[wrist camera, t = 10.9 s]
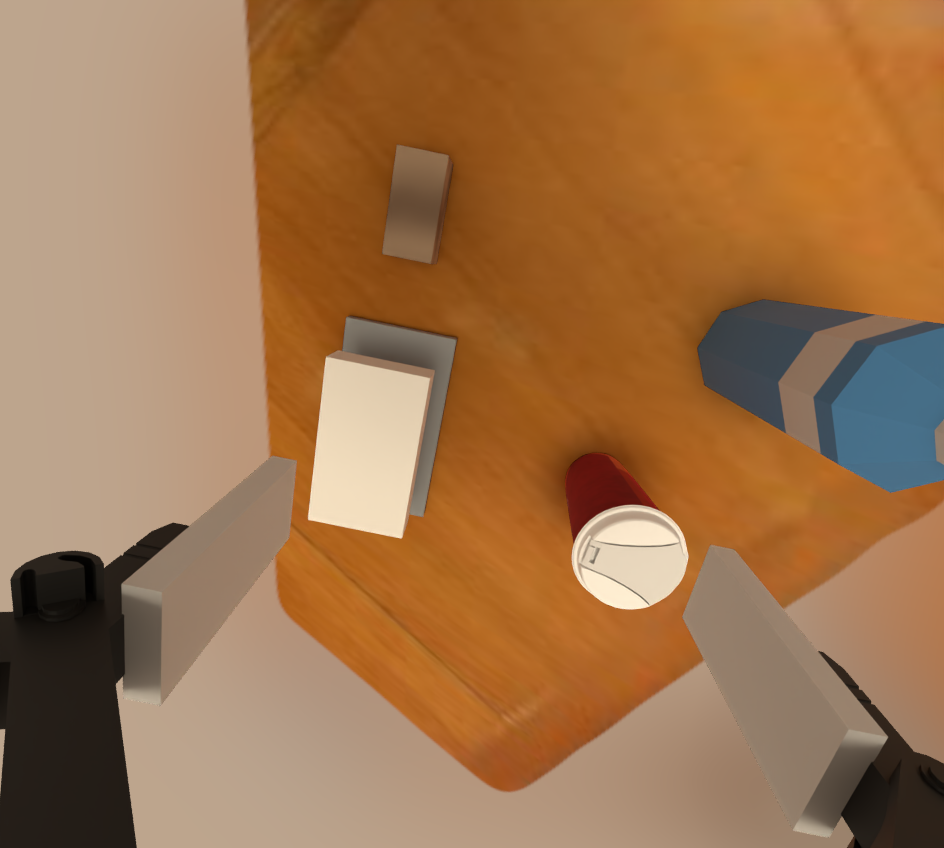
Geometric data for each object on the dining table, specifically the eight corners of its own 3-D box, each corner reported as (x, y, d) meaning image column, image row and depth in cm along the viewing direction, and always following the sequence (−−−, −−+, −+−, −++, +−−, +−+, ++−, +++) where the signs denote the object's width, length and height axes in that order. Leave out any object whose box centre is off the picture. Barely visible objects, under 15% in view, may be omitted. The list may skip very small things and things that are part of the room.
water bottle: (686, 398, 47) (875, 533, 24) (709, 294, 45) (948, 329, 21) (788, 407, 47) (1082, 554, 23) (817, 304, 44) (1185, 351, 21)
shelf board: (337, 350, 41) (326, 356, 39) (434, 370, 42) (430, 378, 39) (319, 503, 46) (307, 519, 43) (407, 521, 46) (401, 538, 43)
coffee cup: (542, 505, 51) (559, 599, 37) (569, 431, 49) (597, 500, 35) (621, 527, 52) (668, 628, 37) (652, 454, 49) (714, 533, 35)
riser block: (406, 155, 43) (396, 144, 39) (453, 165, 43) (448, 155, 39) (392, 254, 45) (382, 253, 41) (436, 263, 45) (430, 263, 41)
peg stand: (349, 315, 47) (328, 323, 41) (457, 337, 47) (451, 348, 41) (328, 491, 52) (306, 521, 46) (424, 511, 52) (415, 542, 46)
